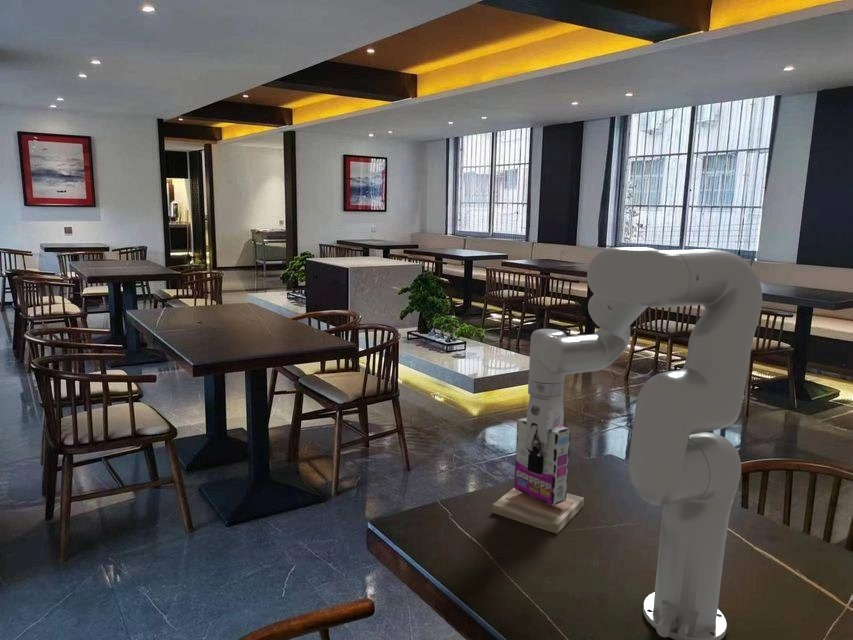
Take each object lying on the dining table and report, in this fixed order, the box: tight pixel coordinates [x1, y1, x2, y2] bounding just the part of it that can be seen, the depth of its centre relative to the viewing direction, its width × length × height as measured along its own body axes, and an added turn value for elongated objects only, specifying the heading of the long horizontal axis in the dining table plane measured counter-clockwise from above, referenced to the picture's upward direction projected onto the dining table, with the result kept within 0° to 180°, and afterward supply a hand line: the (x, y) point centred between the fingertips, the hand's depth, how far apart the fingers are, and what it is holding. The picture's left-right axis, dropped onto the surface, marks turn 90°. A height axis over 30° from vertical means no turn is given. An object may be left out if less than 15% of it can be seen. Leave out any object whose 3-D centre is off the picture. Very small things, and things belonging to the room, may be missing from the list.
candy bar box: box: [513, 416, 571, 506], centre depth 137 cm, size 11×5×16 cm, turn 40°
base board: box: [492, 487, 585, 535], centre depth 139 cm, size 15×15×2 cm
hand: (541, 466), depth 137 cm, fingers closed on candy bar box, 5 cm apart
